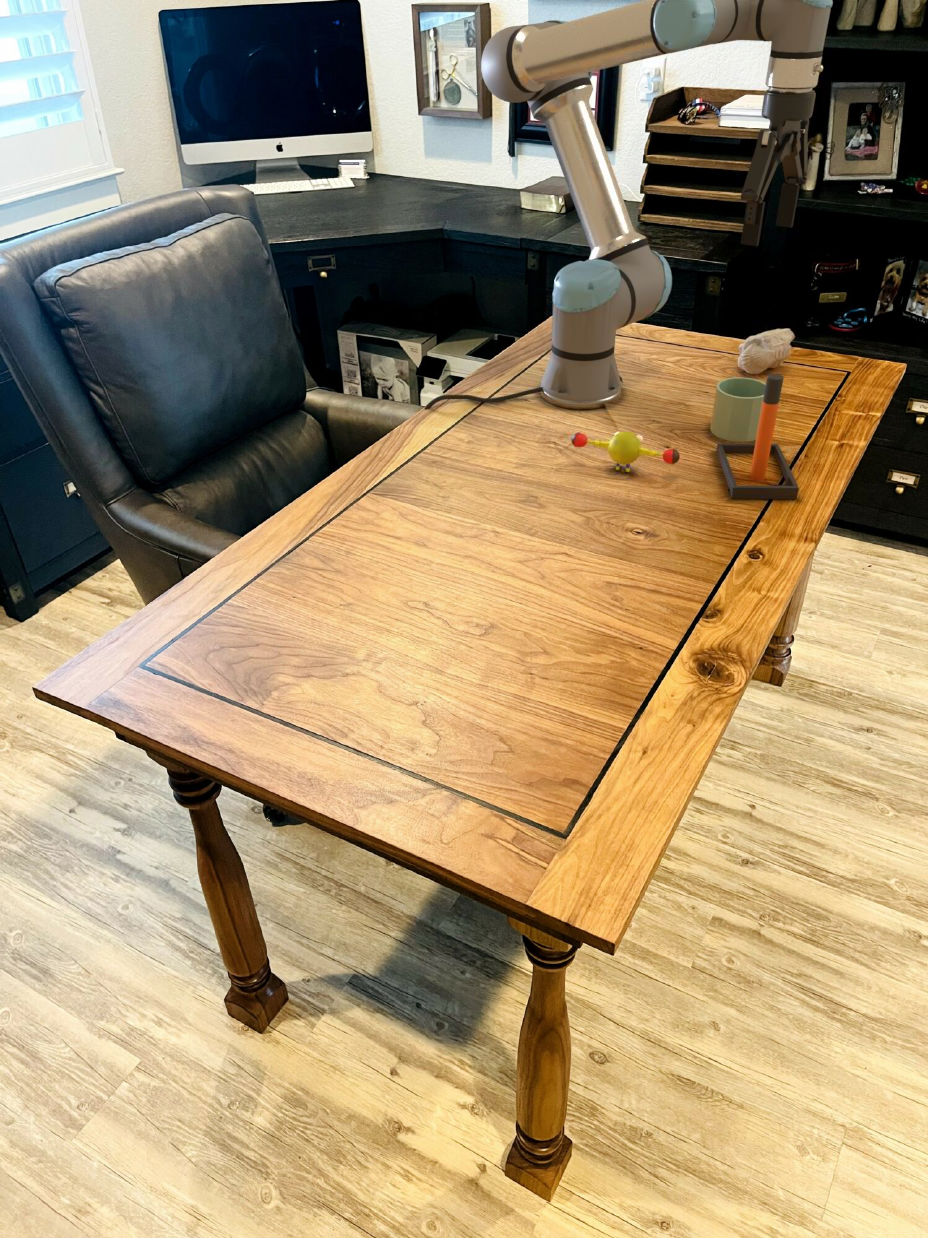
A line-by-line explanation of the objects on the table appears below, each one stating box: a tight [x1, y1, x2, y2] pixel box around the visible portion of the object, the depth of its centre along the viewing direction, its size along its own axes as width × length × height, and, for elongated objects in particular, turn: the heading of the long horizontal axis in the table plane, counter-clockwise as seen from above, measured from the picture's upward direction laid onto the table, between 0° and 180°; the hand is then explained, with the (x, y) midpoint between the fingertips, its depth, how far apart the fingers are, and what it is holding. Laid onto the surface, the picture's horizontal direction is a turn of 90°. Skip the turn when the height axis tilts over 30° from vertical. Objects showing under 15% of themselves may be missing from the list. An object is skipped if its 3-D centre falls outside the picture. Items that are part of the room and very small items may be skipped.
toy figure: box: [570, 431, 681, 474], centre depth 156 cm, size 18×6×7 cm, turn 65°
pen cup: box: [709, 376, 766, 443], centre depth 166 cm, size 9×9×8 cm
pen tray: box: [716, 443, 800, 500], centre depth 155 cm, size 15×10×2 cm, turn 177°
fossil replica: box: [737, 328, 796, 375], centre depth 189 cm, size 12×8×10 cm
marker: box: [749, 373, 785, 482], centre depth 149 cm, size 2×2×17 cm
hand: (767, 235), depth 158 cm, fingers open, 13 cm apart
